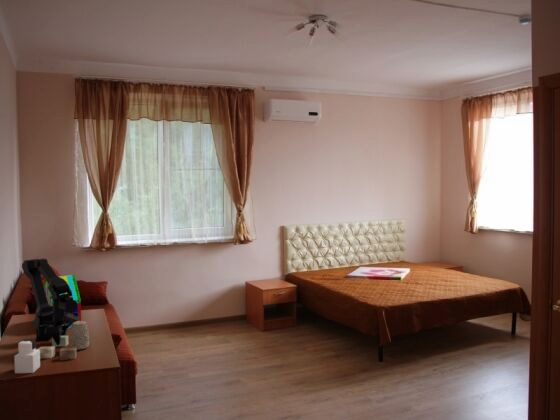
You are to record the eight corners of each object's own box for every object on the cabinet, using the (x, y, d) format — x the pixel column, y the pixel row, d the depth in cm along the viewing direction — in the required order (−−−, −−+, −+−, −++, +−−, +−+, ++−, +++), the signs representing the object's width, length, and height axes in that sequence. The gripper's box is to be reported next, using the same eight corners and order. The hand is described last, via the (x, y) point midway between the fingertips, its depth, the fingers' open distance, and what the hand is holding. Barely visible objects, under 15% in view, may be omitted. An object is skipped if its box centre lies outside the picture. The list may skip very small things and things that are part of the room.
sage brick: (52, 346, 227) (52, 338, 227) (55, 344, 231) (55, 335, 231) (65, 346, 228) (65, 337, 227) (68, 344, 231) (68, 335, 231)
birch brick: (37, 358, 212) (37, 349, 212) (41, 355, 216) (40, 346, 216) (51, 358, 213) (51, 349, 212) (55, 355, 216) (55, 346, 216)
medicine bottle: (22, 367, 203) (21, 337, 202) (40, 366, 203) (39, 337, 202) (14, 373, 195) (13, 343, 195) (33, 373, 196) (32, 343, 195)
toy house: (81, 326, 259) (80, 278, 257) (52, 331, 251) (51, 281, 249) (70, 315, 278) (69, 271, 277) (43, 319, 271) (42, 273, 269)
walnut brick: (59, 360, 210) (59, 351, 210) (61, 357, 214) (61, 348, 214) (75, 359, 212) (75, 350, 211) (76, 356, 215) (76, 347, 215)
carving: (71, 347, 226) (70, 321, 225) (89, 345, 229) (88, 319, 228) (71, 351, 220) (70, 325, 220) (89, 349, 223) (89, 323, 223)
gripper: (69, 314, 219) (70, 349, 220) (84, 303, 238) (85, 336, 239) (43, 314, 219) (44, 349, 220) (60, 304, 237) (61, 336, 238)
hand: (60, 342), depth 229 cm, fingers open, 5 cm apart
